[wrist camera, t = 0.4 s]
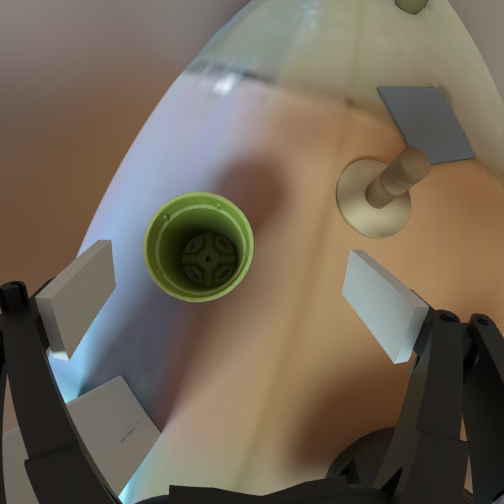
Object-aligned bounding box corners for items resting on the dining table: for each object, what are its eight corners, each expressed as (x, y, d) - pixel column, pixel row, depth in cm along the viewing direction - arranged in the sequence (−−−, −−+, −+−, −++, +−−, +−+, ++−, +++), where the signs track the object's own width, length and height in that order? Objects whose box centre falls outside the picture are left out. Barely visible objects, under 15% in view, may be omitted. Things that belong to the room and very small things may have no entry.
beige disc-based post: (416, 227, 33) (469, 202, 22) (351, 247, 33) (394, 223, 22) (389, 158, 35) (429, 114, 24) (324, 170, 34) (352, 120, 23)
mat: (473, 158, 36) (475, 156, 35) (416, 167, 35) (418, 165, 34) (436, 89, 38) (438, 87, 37) (376, 89, 37) (377, 86, 36)
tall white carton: (162, 433, 29) (63, 574, 4) (113, 453, 28) (6, 558, 3) (121, 373, 30) (-40, 453, 5) (75, 398, 29) (-67, 463, 5)
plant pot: (207, 202, 34) (195, 170, 25) (269, 255, 33) (277, 240, 24) (152, 262, 32) (122, 249, 24) (212, 319, 31) (200, 326, 23)
